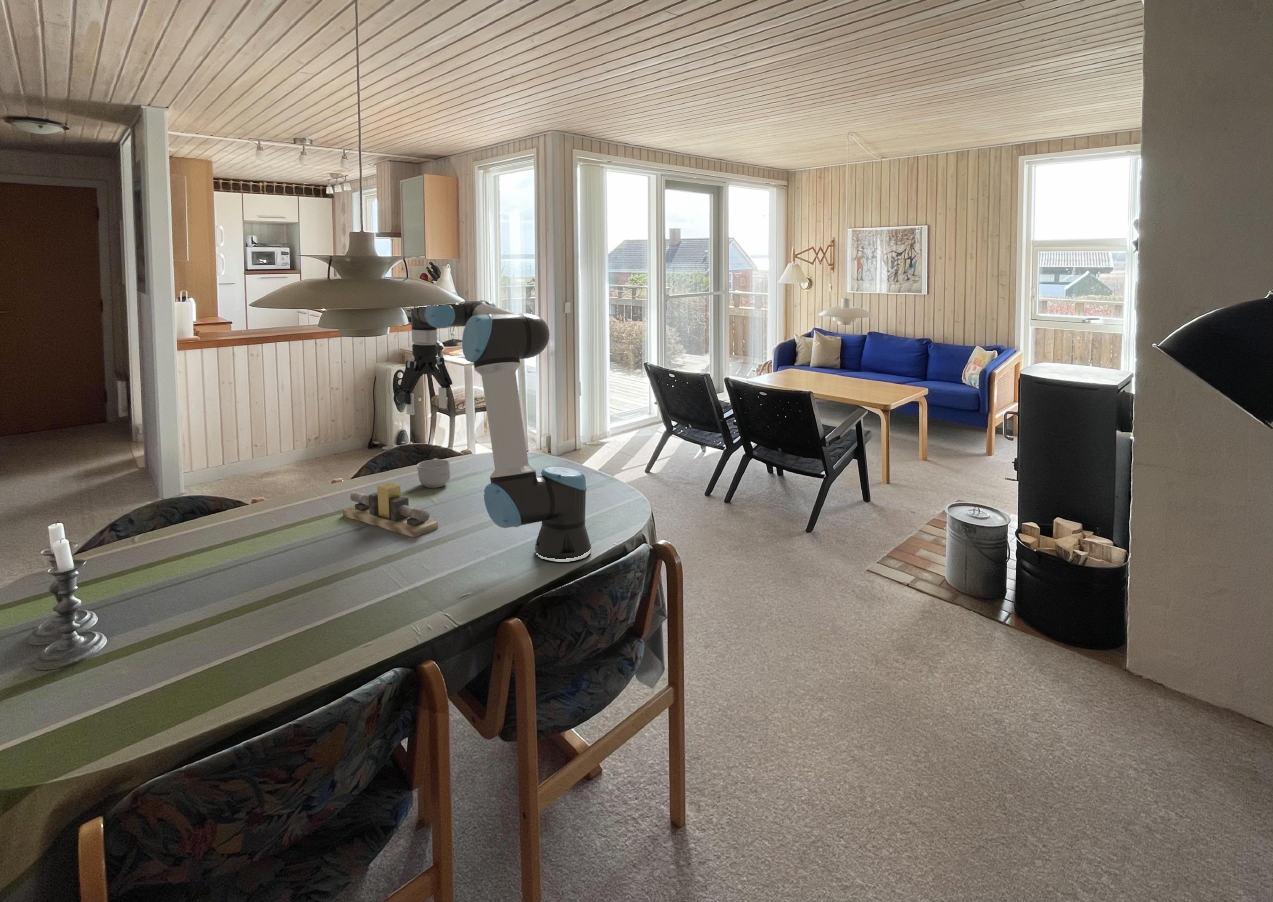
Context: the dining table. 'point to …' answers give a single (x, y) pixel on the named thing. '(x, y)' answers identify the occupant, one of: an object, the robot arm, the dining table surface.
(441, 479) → the teacup
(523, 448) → the robot arm
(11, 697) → the dining table surface
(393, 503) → the shaft rig
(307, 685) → the dining table surface
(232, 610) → the dining table surface
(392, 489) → the block
